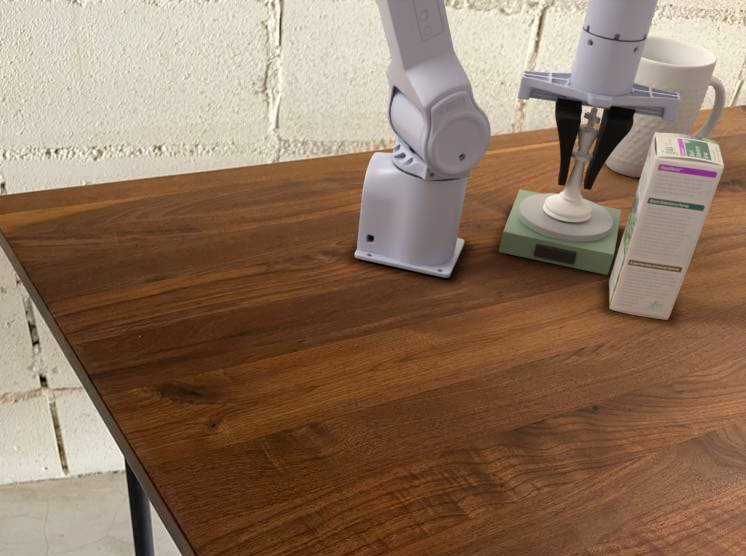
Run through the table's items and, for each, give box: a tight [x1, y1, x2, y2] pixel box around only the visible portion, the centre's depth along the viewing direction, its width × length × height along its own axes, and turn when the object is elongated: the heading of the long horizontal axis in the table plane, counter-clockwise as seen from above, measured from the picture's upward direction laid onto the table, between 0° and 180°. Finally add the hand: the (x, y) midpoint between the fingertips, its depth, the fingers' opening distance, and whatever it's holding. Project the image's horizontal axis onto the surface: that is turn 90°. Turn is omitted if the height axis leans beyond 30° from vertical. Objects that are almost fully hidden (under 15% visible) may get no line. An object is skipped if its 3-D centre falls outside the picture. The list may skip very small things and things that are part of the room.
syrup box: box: [608, 132, 725, 321], centre depth 79 cm, size 6×6×14 cm
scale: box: [498, 188, 623, 276], centre depth 91 cm, size 11×11×3 cm
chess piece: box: [543, 107, 601, 222], centre depth 86 cm, size 5×5×10 cm
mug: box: [599, 35, 726, 179], centre depth 104 cm, size 15×11×13 cm
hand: (574, 183), depth 88 cm, fingers closed on chess piece
